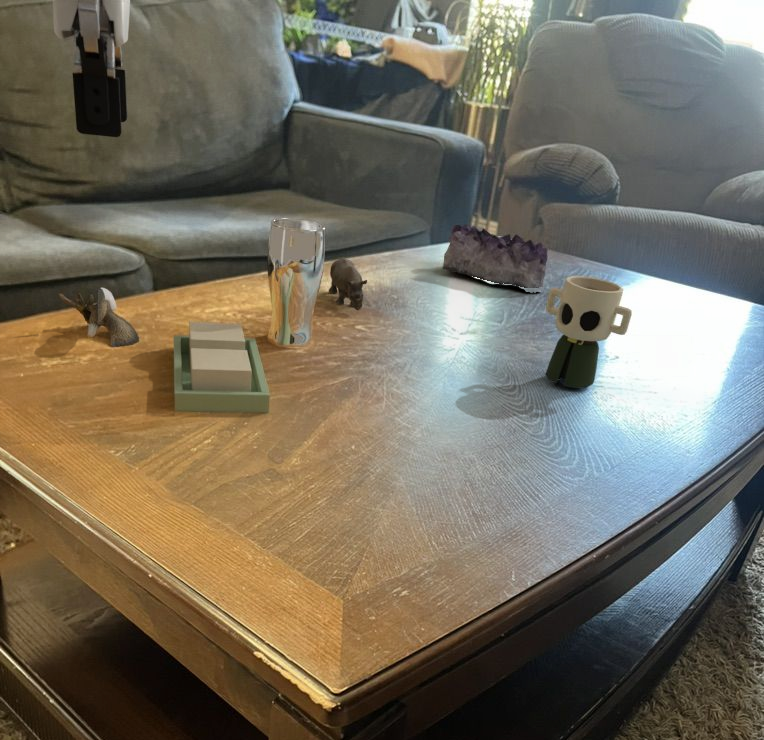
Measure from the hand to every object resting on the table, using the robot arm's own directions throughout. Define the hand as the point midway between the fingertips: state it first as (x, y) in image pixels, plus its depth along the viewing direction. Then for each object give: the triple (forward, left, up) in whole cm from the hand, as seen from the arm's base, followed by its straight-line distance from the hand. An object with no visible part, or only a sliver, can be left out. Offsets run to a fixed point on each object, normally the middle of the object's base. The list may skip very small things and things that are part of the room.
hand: (103, 127), depth 63 cm
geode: (+62, +62, -26) cm, 92 cm away
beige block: (+10, +15, -26) cm, 31 cm away
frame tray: (+10, +10, -26) cm, 30 cm away
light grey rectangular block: (+10, +6, -26) cm, 28 cm away
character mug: (+55, +13, -26) cm, 62 cm away
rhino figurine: (+31, +42, -26) cm, 59 cm away
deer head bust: (-3, +23, -26) cm, 35 cm away
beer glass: (+20, +24, -26) cm, 41 cm away
